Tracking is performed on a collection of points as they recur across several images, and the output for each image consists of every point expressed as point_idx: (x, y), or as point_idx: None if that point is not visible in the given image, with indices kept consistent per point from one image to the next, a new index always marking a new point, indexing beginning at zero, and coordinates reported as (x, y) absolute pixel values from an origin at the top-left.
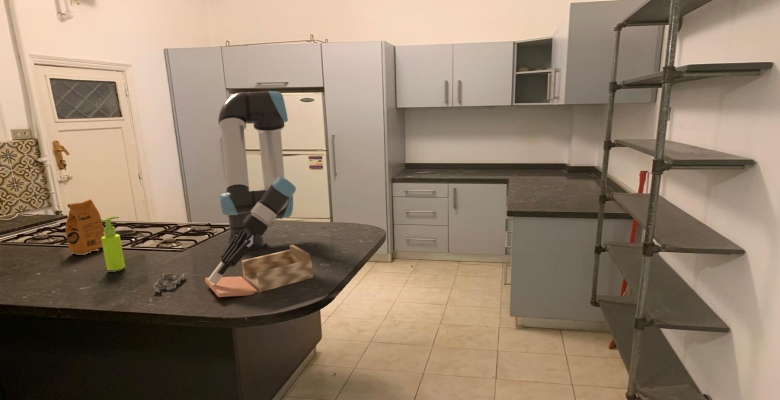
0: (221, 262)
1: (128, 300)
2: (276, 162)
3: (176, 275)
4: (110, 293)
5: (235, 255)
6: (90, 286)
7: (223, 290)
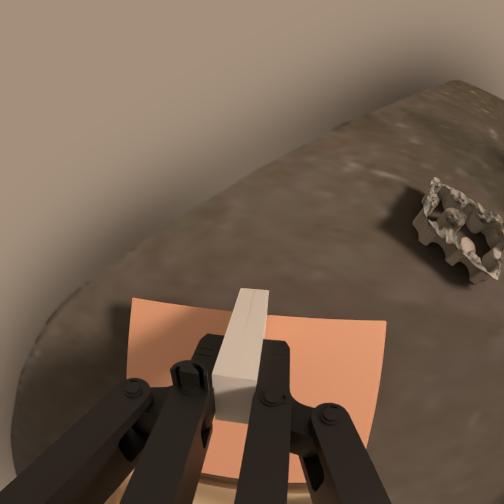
0: (235, 374)
1: (407, 145)
2: None
3: (500, 260)
4: (460, 142)
5: (68, 440)
6: (497, 140)
7: (158, 331)
